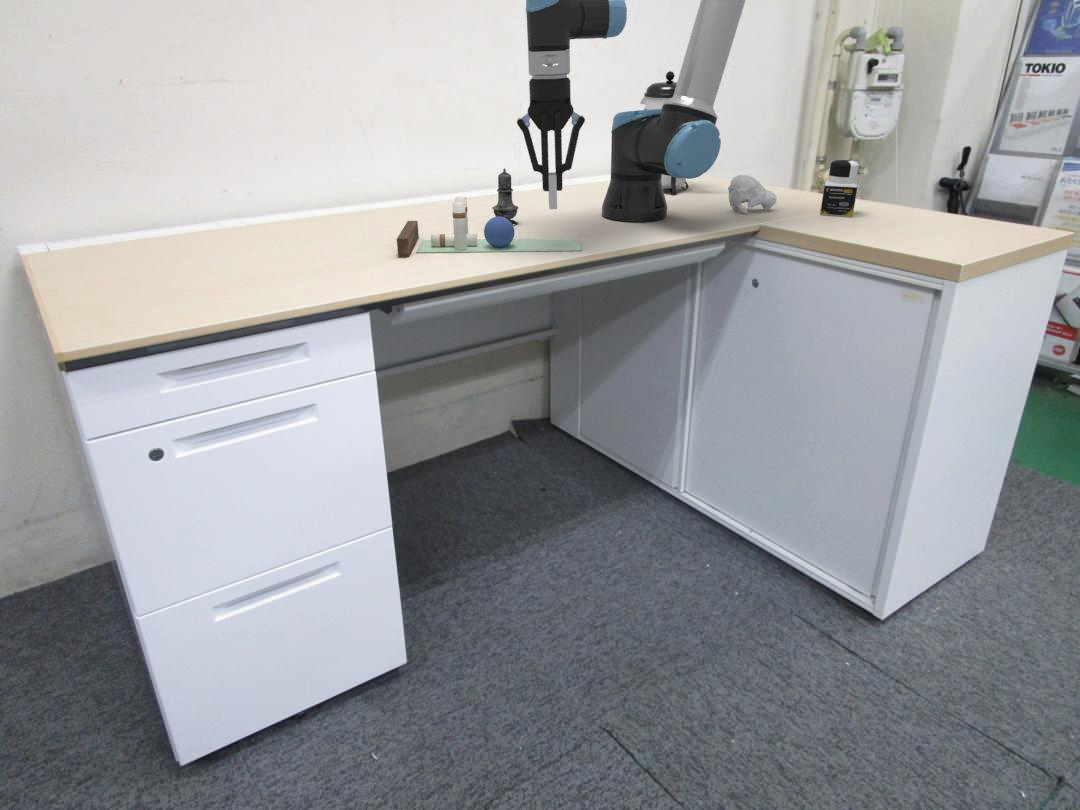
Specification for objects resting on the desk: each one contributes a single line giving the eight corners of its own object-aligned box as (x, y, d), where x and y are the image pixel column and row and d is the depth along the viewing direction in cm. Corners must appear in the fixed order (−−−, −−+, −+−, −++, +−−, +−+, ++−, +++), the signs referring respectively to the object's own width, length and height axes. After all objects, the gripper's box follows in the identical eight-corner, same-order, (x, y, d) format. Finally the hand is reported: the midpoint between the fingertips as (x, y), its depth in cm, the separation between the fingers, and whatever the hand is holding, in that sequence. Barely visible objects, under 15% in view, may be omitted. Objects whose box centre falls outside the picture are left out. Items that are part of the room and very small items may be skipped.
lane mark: (577, 239, 154) (577, 238, 154) (581, 251, 145) (581, 250, 145) (421, 240, 153) (421, 240, 153) (416, 253, 144) (416, 252, 144)
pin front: (476, 232, 149) (431, 232, 148) (476, 236, 146) (430, 237, 146) (477, 243, 150) (432, 244, 149) (477, 248, 148) (431, 249, 147)
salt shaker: (515, 226, 165) (514, 170, 160) (489, 225, 166) (487, 169, 161) (521, 221, 170) (520, 166, 165) (496, 220, 171) (494, 166, 166)
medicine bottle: (819, 215, 174) (828, 162, 169) (821, 209, 180) (829, 158, 175) (852, 217, 172) (861, 163, 167) (853, 211, 178) (862, 159, 173)
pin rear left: (467, 248, 148) (465, 201, 144) (466, 251, 145) (464, 204, 141) (455, 248, 147) (452, 201, 144) (454, 251, 145) (451, 204, 141)
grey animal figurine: (728, 172, 177) (773, 175, 180) (721, 208, 181) (765, 211, 184) (740, 176, 172) (786, 179, 175) (733, 214, 175) (778, 216, 178)
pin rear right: (469, 241, 152) (467, 196, 149) (468, 244, 150) (466, 198, 146) (457, 241, 152) (454, 196, 148) (456, 244, 150) (453, 199, 146)
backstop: (418, 237, 156) (417, 220, 154) (408, 257, 141) (407, 238, 140) (409, 237, 156) (407, 220, 154) (398, 257, 141) (396, 238, 140)
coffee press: (647, 197, 196) (654, 72, 183) (628, 187, 211) (633, 70, 198) (708, 194, 200) (720, 71, 187) (686, 184, 214) (695, 70, 201)
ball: (477, 227, 149) (499, 246, 152) (478, 239, 144) (501, 258, 147) (497, 205, 147) (519, 225, 149) (498, 217, 142) (521, 236, 144)
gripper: (513, 79, 132) (520, 213, 143) (587, 76, 133) (587, 210, 143) (513, 77, 139) (519, 205, 150) (583, 74, 139) (584, 202, 150)
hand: (553, 207), depth 146 cm, fingers closed
